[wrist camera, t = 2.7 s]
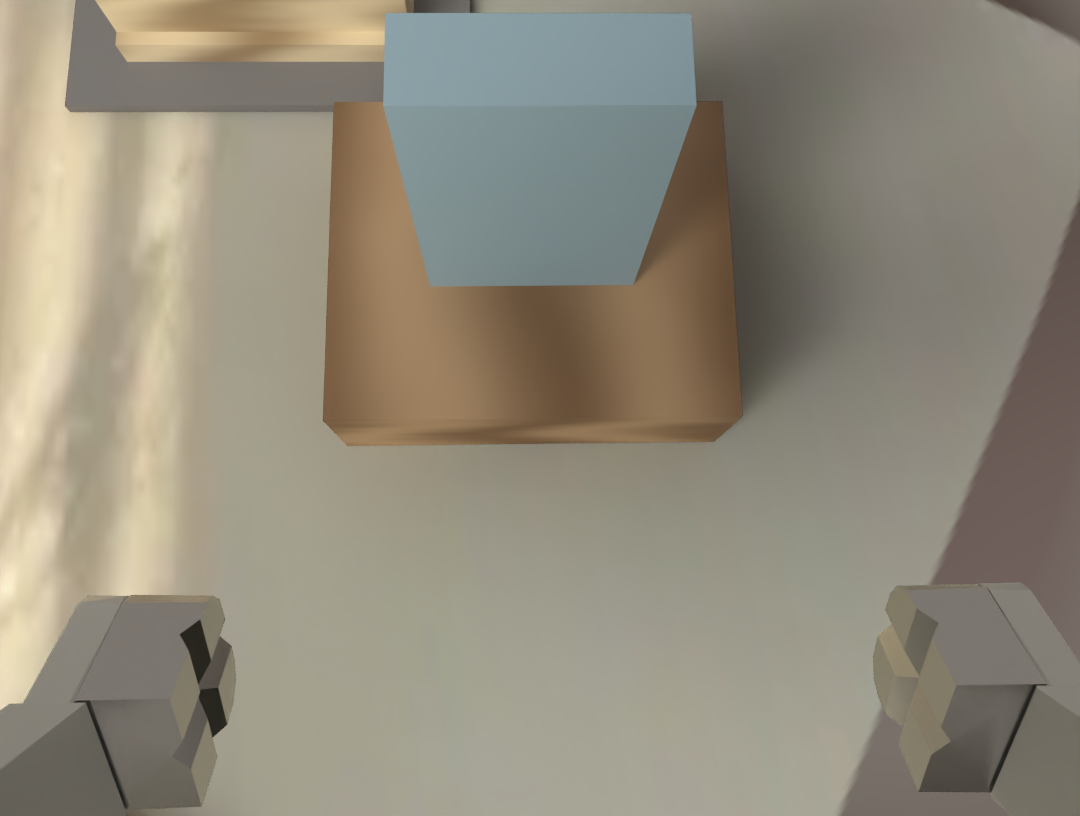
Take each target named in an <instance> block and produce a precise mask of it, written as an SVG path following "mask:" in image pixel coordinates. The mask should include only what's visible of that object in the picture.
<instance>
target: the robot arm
mask: <svg viewBox="0 0 1080 816" xmlns="http://www.w3.org/2000/svg"><path fill="white" fill-rule="evenodd" d="M885 610H886V612H887V614H888V616H889V618H890V621H891V623H892V625H891V626H889V627H888V628H887V629H886V630H885V631H883V632H882V633H881V634H880V635H879V636H878V638H877V642H876V646H875V651H874V655H873V666H874V681H875V685H876V689H877V694H878V697H879V699H880V702H881V704H882V707H883V709H884V712H885V713H886V714H887V715H888V716H889V717H891V718H892V719H893V720H894V721H896V722H897V723H898V724H900V725H901V726H902V727H903V729H902V732H901V735H900V739H899V742H898V746H899V748H900V750H901V753H902V755H903V757H904V760H905V762H906V764H907V767H908V769H909V771H910V774H911V776H912V778H913V781H914V783H915V785H916V788H917V790H918V792H989V793H991V794H990V797H991V798H993V799H994V800H995V801H996V802H997V803H998V804H999V805H1000V806H1001V807H1002V808H1003V809H1004V810H1005V811H1006V812H1007V813H1008V814H1010V815H1011V816H1080V662H1079V661H1078V659H1077V658H1076V656H1075V655H1074V653H1073V652H1072V650H1071V649H1070V648H1069V646H1068V644H1067V643H1066V641H1065V640H1064V639H1063V637H1062V636H1061V634H1060V633H1059V631H1058V630H1057V628H1056V627H1055V625H1054V624H1053V622H1052V621H1051V619H1050V618H1049V617H1048V615H1047V614H1046V612H1045V611H1044V609H1043V608H1042V606H1041V605H1040V603H1039V602H1038V600H1037V599H1036V598H1035V596H1034V595H1033V593H1032V592H1031V590H1030V589H1029V588H1028V587H1026V586H1025V585H1023V584H1022V583H987V584H986V583H985V584H978V585H974V584H959V585H957V584H956V585H913V586H896V587H895V589H894V590H893V591H892V592H891V593H890V596H889V599H888V602H887V606H886V609H885ZM224 622H225V616H224V613H223V609H222V606H221V602H220V599H218V598H216V597H214V596H180V595H130V596H95V595H88V596H87V597H86V598H84V599H83V600H82V601H80V602H79V603H78V604H77V606H76V607H75V609H74V611H73V613H72V615H71V616H70V618H69V620H68V622H67V624H66V626H65V627H64V629H63V631H62V633H61V635H60V637H59V638H58V640H57V642H56V644H55V646H54V647H53V649H52V651H51V653H50V655H49V657H48V658H47V660H46V662H45V664H44V666H43V668H42V669H41V671H40V673H39V675H38V677H37V678H36V680H35V682H34V684H33V686H32V688H31V689H30V691H29V693H28V695H27V697H26V698H25V700H24V702H23V703H21V704H9V705H7V706H6V707H5V708H3V709H2V710H0V816H126V815H127V813H126V810H139V809H160V808H181V807H202V804H203V801H204V798H205V795H206V791H207V788H208V785H209V782H210V779H211V776H212V772H213V769H214V766H215V763H216V760H217V753H216V749H215V746H214V742H213V737H214V736H215V735H216V734H217V733H218V732H220V731H221V730H222V729H223V728H224V727H225V726H226V725H227V724H228V720H229V717H230V713H231V710H232V706H233V701H234V693H235V684H236V671H235V659H234V655H233V650H232V646H231V645H230V644H229V643H227V642H226V641H225V640H224V639H222V638H221V637H220V633H221V630H222V627H223V624H224Z"/></svg>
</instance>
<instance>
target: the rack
mask: <svg viewBox="0 0 1080 816" xmlns="http://www.w3.org/2000/svg"><path fill="white" fill-rule="evenodd" d="M95 1H96V2H97V4H98V5H99V7H100V8H101V10H102V11H103V13H104V14H105V16H106V17H107V19H108V20H109V22H110V23H111V24H112V26H113V27H114V29H115V30H116V43H115V45H116V47H117V48H118V49H119V51H120V52H121V54H122V55H123V57H124V58H125V59H126V61H127V62H384V46H385V13H414V0H95Z"/></svg>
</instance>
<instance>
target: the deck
mask: <svg viewBox="0 0 1080 816" xmlns="http://www.w3.org/2000/svg"><path fill="white" fill-rule="evenodd" d="M696 104H697V105H696V108H695V111H694V114H693V117H692V120H691V123H690V125H689V128H688V131H687V134H686V137H685V140H684V142H683V145H682V148H681V151H680V154H679V157H678V159H677V162H676V165H675V168H674V171H673V174H672V176H671V179H670V182H669V185H668V188H667V191H666V194H665V196H664V199H663V202H662V205H661V208H660V211H659V213H658V216H657V219H656V222H655V225H654V228H653V230H652V233H651V236H650V239H649V242H648V245H647V247H646V250H645V253H644V256H643V259H642V262H641V265H640V267H639V270H638V273H637V276H636V279H635V282H634V284H633V285H561V286H430V284H429V280H428V277H427V273H426V269H425V265H424V261H423V257H422V254H421V250H420V246H419V242H418V238H417V234H416V230H415V227H414V223H413V219H412V215H411V211H410V207H409V203H408V200H407V196H406V192H405V188H404V184H403V180H402V176H401V173H400V169H399V165H398V161H397V157H396V153H395V149H394V146H393V142H392V138H391V134H390V130H389V126H388V122H387V119H386V115H385V111H384V107H383V102H334V113H333V142H332V171H331V200H330V229H329V258H328V287H327V316H326V345H325V374H324V403H323V421H324V422H325V423H326V424H327V425H328V426H329V427H330V428H331V429H332V430H333V431H334V432H335V433H336V435H337V436H338V437H339V438H340V439H341V440H342V441H343V442H344V443H345V444H346V445H347V446H371V445H456V444H541V443H626V442H711V441H715V440H716V439H717V438H718V437H720V436H721V435H722V434H723V433H724V432H725V431H726V430H727V429H729V428H730V427H731V426H732V425H733V424H734V423H735V422H736V421H738V420H739V419H740V418H741V417H742V416H743V415H742V400H741V384H740V369H739V353H738V338H737V323H736V307H735V292H734V276H733V261H732V245H731V230H730V215H729V199H728V184H727V168H726V153H725V137H724V122H723V106H722V101H696Z"/></svg>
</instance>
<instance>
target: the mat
mask: <svg viewBox="0 0 1080 816" xmlns="http://www.w3.org/2000/svg"><path fill="white" fill-rule="evenodd" d="M414 13H470V0H414ZM115 43H116V30H115V29H114V27H113V26H112V24H111V23H110V22H109V20H108V19H107V17H106V16H105V14H104V13H103V11H102V10H101V8H100V7H99V5H98V4H97V2H96V1H95V0H76V3H75V12H74V22H73V32H72V42H71V51H70V61H69V71H68V80H67V90H66V100H65V107H66V108H67V109H68V110H69V111H70V112H293V111H334V102H383V92H384V62H127V61H126V59H125V58H124V57H123V55H122V54H121V52H120V51H119V49H118V48H117V47H116V45H115Z"/></svg>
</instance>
